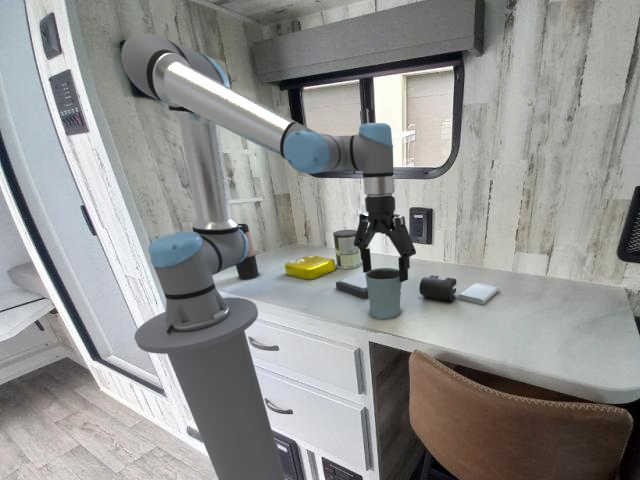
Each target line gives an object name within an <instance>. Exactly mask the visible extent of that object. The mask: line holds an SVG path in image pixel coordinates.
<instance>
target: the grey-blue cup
mask: <svg viewBox="0 0 640 480" xmlns="http://www.w3.org/2000/svg"><path fill="white" fill-rule="evenodd" d="M365 276H366V282H367V289H368V297H367V298H368V300H369V313H370V315H371V316H372V317H373V318H375V319H377V320H379V319H380V320H388V319H393V318H396V317H397V316H399V314H400V313H401V298H402V297H401V296H402V292H401V290H402V283H403V282H399V269H396V268H391V267H380V268H373V269H372V270H370V271H368V272H367V273H366V274H365Z"/></svg>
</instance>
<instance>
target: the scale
mask: <svg viewBox="0 0 640 480" xmlns="http://www.w3.org/2000/svg"><path fill="white" fill-rule="evenodd" d="M366 273H367V272H366ZM366 273H364V272H363V271H362V272H359V273H356V274H354V275H350V276H348V277H345V278H343V279H340V280H339V281H336V282H335V289H336V290H337V291H341V292H343V293H347V294H349V295H352V296H355V297H359V298H361V299H364V300H365V299H368V298H369V297H368V289H367V282H366V276H365V274H366Z"/></svg>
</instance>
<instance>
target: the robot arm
mask: <svg viewBox="0 0 640 480" xmlns="http://www.w3.org/2000/svg"><path fill="white" fill-rule="evenodd" d="M120 56H121V57H120V58H121V62H122V65H123V66H122V67H123V69H124V72H125V74H126V76H127V77H128V78H129V80H130V81H131V82H132V83H133V85H134V86H135V87H137V89H138V90H140V92H142V93H144V94H145V95H147V96H149V97H151V98H153V99H155V100H157V101H159V102H161V103H162V104H164V105H167V106H168V111H169V113H170V114H171V115H172V116H173V117H174V118H176V120H177V121H178V125H179V130H180V135H181V142H182V146H183V151H184V156H185V162H186V167H187V172H188V178H189V183H190V188H191V193H192V199H193V204H194V209H195V215H196V219H195V220H194V221H193V222H192V223H191V228H192V231H180V232H176V233H173V234H166V235H163V236H161V237H159V238H156V239H154V240H153V241H151V242H150V243H149V245H148V253H149V257H150V263H151V265H152V266H153V268H154V271H155V273H156V276H157V279H158V281H159V284H160V287H161V290H162V292H163V295H164V298H165V300H166V302H165V312H166V324H167V327H168V330H167V331H166V332H167V333H169V334H170V332H171V331H174V332H192V331H197V330H202V329H205V328H209V327H211V326H214V325H216V324H218V323H220V322H222V321H224V320H225V319H226V318H227V317H228V316H229V315H230V309H229V306H228V304H227V303H226V301H225V300H224V299H223V298H224V297H223V296H222V294H221V293H220V292H219V291H218V290H217V287H216V284H215V280H214V277H213V276H214V275H217V274H219V273H221V272H223V271H225V270H227V269H231V268H233V267H236V265H237V264H238V263H240V262H241V261H243V260H244V259H245V258H246V256H247V254H248V251H249V243H248V239H247V237H246V235H244V234H243V231H242V230H240V229H239V228H238V224H239V223H238V222H237V221H235V220H234V219H233V218H232V212H231V206H230V198H229V191H228V185H227V184H228V183H227V177H226V170H225V162H224V156H223V155H224V153H223V148H222V140H221V133H220V127H221V128H223V129H225V130H227V131H229V132H231V133H234V134H235V135H237V136H239V137H241V138H243V139H245V140H247V141H248V142H251V143H253V144H255V145H257V146H259V147H261V148H262V149H265V150H267V151H268V152H271V153H272V154H275V155H277V156H278V157H280V158H282V159H284V160H286V162H287V163H288V164H289V165H290V166H291V168H292V169H294V170H295V171H296V172H299V173H302V174H307V175H315V174H320V173H328V172H339V171H340V172H341V171H342V172H343V171H362V178H363V179H362V181H363V194H364V195H366V196H365V198H364V204H365V205H364V206H365V207H364V208H365V212H364V213H360V214H359V215H358V226H357V229H356V231H357V233H356V237H355V241H354V246H355V247H356V246H357V247H358V248H359V249H360V261H361V266H362V272H364V273H366V272H368V271H370V270H373V269H372V258H371V248H370V247H369V246H370V243H372V240H373V238H374V237H375V235H376V234H381V235H382V234H383V235H385V236H386V237H388V239H389V240H390V242H391V243H392V245H393V246H394V248H395V249H396V252H397V253H398V254H399V256H400V257H398V259H397V260H398V270H399V282H402V283H404V282H406V281H408V280H409V269H411V264H410V262H411V261H410V257H412V256H414V255H417V251H416V250H417V249H416V247H415V245H414V243H413V240H412V238H411V235H410V233H409V230H408V227H407V225H406V218H405V216H404V215H401V216H398V217H397V216H395V211H396V197H395V195H394V193H395V173H394V172H395V171H394V143H393V136H392V127H391V126H390V125H389V124H388V123H385V122H368V123H362V124H360V125H359V127H358V134H353V135H331V134H327V133H321V132H317V131H315V130H313V129H311V128H310V127H307V126H305V125H304V124H301V123H299V122H297V121H295V120H293V119H292V118H290V117H287V116H285V115H284V114H282V113H280V112H278V111H276V110H274V109H272V108H270V107H268V106H266V105H265V104H262V103H261V102H258V101H256V100H255V99H253V98H251V97H249V96H248V95H245V94H243V93H241V92H239V91H238V90H236V89H234V88H231V86H230V83H229V79H228V77H227V74H226V73H225V72H224V70H223V69H222V67H221V66H220V65H219V64H218V63H217V62H216V61H215V60H214V59H212V58H211V57H209V56H207V55H206V54H204V53H203V52H201V51H198V50H196V49H192V48H190V47H187V46H184V45H182V44H179V43H177V42H173V41H171V40H168V39H166V38H164V37H162V36H159V35H157V34H153V33H146V32H143V33H141V32H140V33H135V34H133V35H131V36H129V37H128V38H127V39H126V40H125V42H124V43H123V45H122V47H121V53H120Z"/></svg>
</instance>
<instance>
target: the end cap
mask: <svg viewBox="0 0 640 480" xmlns="http://www.w3.org/2000/svg"><path fill="white" fill-rule="evenodd" d="M457 284H458V283H457V279H456V278H453V277H446V278H445V279H440V278H439V275H433V274H431V275H429V276H428V277H427V276H423V277H422V278H421V280H420V283H419V287H418V288H419V289H418V290H419V294H420V295H421V296H422V297H423V298H428V299H433V300H437V301H444V302H449V303H451V302H452V301H453V300H454V299H455V298H456V292H457V287H455V286H456V285H457Z"/></svg>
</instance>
